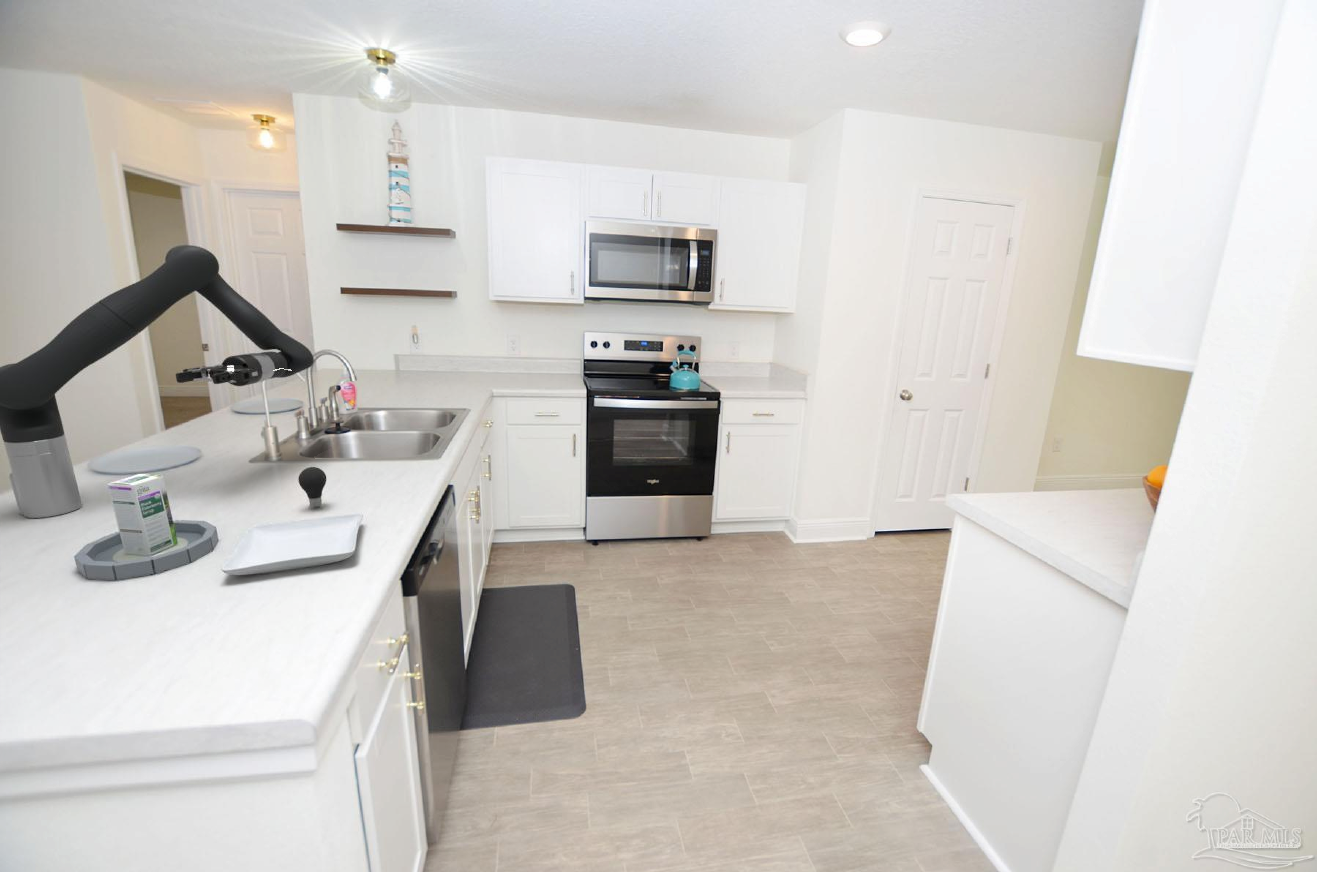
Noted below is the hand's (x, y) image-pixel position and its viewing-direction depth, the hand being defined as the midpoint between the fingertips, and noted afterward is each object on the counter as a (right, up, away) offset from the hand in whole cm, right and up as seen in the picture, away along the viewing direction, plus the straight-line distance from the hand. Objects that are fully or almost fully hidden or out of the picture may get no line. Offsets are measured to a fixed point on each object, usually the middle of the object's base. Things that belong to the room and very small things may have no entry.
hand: (196, 378), depth 128 cm
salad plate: (+33, -36, -15) cm, 51 cm away
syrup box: (+6, -35, -18) cm, 40 cm away
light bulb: (+23, -30, +7) cm, 39 cm away
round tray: (+6, -36, -18) cm, 41 cm away
